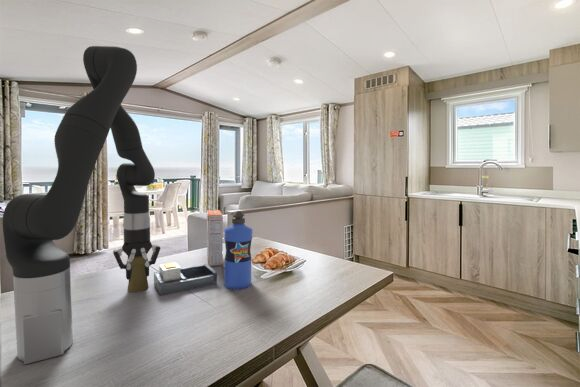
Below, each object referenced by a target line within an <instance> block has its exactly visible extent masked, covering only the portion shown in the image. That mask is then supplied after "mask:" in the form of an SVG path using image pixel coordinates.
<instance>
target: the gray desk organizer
mask: <svg viewBox="0 0 580 387" xmlns="http://www.w3.org/2000/svg"><path fill="white" fill-rule="evenodd" d="M153 284H154V287H155V288H156V289H157V291H158V293H159V295H160V296H165V295H169V294H172V293H179V292H183V291H188V290H189V291H190V290H194V289H198V288H203V287H207V286H212V285H217V284H218V272H217V271H216V270H215V269H214V268H213V267H212V266H209V264H207V263H204V264H198V265H191V266H185V267H181V266H180V265H179V264H178V263H177V262H169V263H168V262H167V263H163V264H159V271H156V272H153Z"/></svg>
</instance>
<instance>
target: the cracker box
mask: <svg viewBox="0 0 580 387" xmlns="http://www.w3.org/2000/svg"><path fill="white" fill-rule="evenodd" d="M223 218H224V217H223V214H222V212H221V210H220V209H209V210H206V245H207V246H206V247H207V249H206V251H207V252H206V253H207V254H206V255H207V262H208V264H207V265H209V266H210V267H217V266H220V267H221V266H223V265H224V264H223V261H224V260H223V254H222V251H223V249H224V246H223V239H224V237H223V236H224V233H223V231H224V229H223V224H224V222H223Z"/></svg>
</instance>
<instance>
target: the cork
mask: <svg viewBox="0 0 580 387" xmlns="http://www.w3.org/2000/svg"><path fill="white" fill-rule="evenodd" d="M145 263H146V260H145V259H144V258H143V256H136V257H134V259H133V260H132V262H131V263H130V265H131V271H132V272H131V280H130V281H129V280H128V282H127V284H128V285H127V292H129V293H139V292H143V291H146V290H147V289H149V283H148V277H147V278H146V273H145Z"/></svg>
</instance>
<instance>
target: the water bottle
mask: <svg viewBox="0 0 580 387" xmlns="http://www.w3.org/2000/svg"><path fill="white" fill-rule="evenodd" d="M232 216H233V217H232V219H231V224H230V226H228V227H225V228H224V229H223V231H224V233H223V236H224V237H223V239H224V244H225V255H224V268H223V270H224V274H223V275H224V277H223V278H224V282H223V283H224V284H223V285H224V287H225V288H226V289H230V290H243V289H247V288H250V286H251V285H252V252H251V247H252V240H253V228H251V227H250V226H247V225H246V224H245V223H246V218H245V217H244V216H245V214H244V213H243V212H242V211H239V210H238V211H235V212H234V213H233V214H232Z"/></svg>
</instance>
